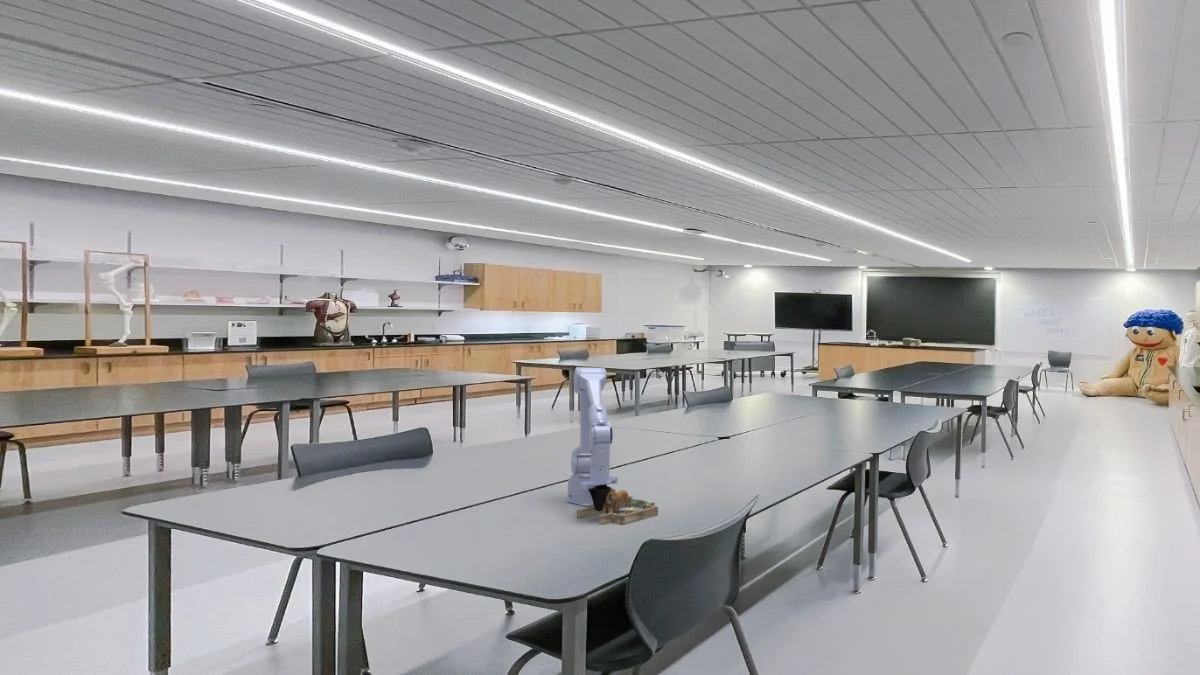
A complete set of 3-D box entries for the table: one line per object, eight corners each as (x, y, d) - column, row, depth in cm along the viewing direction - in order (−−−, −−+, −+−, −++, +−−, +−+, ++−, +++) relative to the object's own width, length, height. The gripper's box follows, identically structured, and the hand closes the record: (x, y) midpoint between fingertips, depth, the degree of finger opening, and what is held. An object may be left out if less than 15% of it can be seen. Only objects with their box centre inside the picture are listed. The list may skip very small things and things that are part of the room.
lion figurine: (614, 520, 234) (615, 490, 234) (598, 517, 236) (599, 487, 236) (634, 509, 247) (635, 481, 247) (619, 507, 250) (620, 479, 249)
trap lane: (576, 518, 235) (577, 508, 235) (629, 504, 254) (630, 496, 253) (612, 527, 226) (612, 518, 225) (664, 513, 244) (664, 504, 244)
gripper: (593, 470, 226) (592, 517, 226) (625, 464, 237) (624, 508, 237) (575, 466, 231) (574, 512, 231) (608, 460, 241) (606, 504, 242)
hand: (598, 510), depth 234 cm, fingers closed
